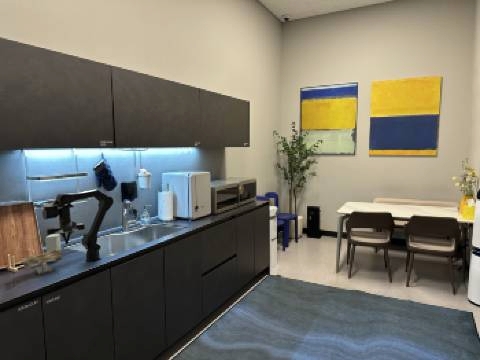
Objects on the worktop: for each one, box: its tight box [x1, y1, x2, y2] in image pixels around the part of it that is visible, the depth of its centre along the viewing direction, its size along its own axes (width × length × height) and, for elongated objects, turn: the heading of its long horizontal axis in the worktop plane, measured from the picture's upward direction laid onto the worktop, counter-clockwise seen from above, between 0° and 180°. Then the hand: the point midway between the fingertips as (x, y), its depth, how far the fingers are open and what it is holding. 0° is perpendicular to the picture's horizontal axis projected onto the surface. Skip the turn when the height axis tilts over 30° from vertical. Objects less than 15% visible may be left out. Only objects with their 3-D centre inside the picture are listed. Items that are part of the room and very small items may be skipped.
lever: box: [21, 247, 63, 269], centre depth 183 cm, size 18×7×6 cm, turn 127°
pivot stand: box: [35, 261, 54, 275], centre depth 183 cm, size 7×11×6 cm, turn 37°
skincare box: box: [45, 233, 62, 262], centre depth 202 cm, size 8×6×15 cm
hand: (66, 243), depth 187 cm, fingers closed
